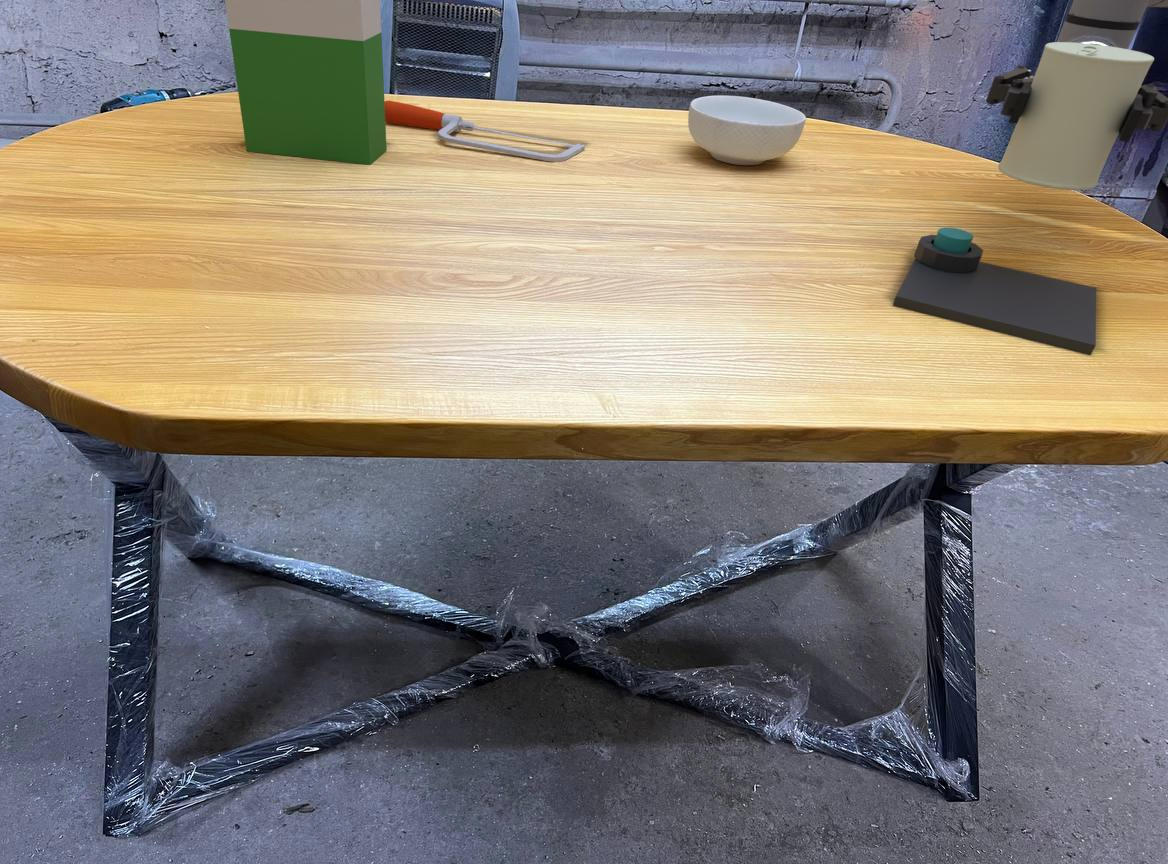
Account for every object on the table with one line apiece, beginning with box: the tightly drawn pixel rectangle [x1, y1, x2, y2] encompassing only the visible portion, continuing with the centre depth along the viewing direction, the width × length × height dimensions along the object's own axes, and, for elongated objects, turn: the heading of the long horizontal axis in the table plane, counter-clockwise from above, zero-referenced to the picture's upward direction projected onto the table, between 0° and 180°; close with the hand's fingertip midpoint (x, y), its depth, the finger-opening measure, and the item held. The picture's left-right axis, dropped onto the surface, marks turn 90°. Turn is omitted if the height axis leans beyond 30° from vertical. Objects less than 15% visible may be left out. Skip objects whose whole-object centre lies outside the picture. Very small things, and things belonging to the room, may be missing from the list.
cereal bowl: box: [687, 95, 807, 166], centre depth 122 cm, size 17×17×7 cm
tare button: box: [933, 227, 974, 253], centre depth 90 cm, size 4×4×2 cm
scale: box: [892, 234, 1097, 356], centre depth 85 cm, size 18×17×3 cm
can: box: [997, 41, 1155, 191], centre depth 80 cm, size 9×9×12 cm
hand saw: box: [384, 100, 586, 163], centre depth 123 cm, size 33×3×10 cm
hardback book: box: [224, 0, 388, 166], centre depth 108 cm, size 18×7×24 cm, turn 80°
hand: (1073, 116), depth 77 cm, fingers closed on can, 9 cm apart
